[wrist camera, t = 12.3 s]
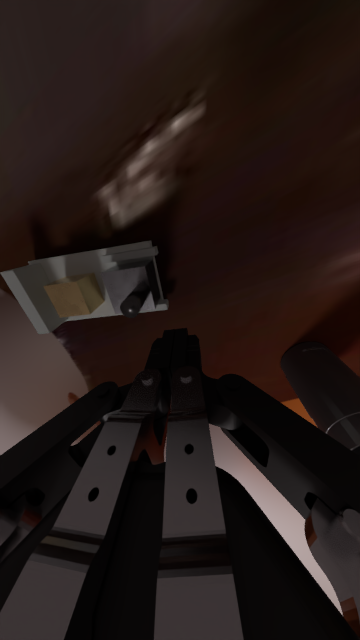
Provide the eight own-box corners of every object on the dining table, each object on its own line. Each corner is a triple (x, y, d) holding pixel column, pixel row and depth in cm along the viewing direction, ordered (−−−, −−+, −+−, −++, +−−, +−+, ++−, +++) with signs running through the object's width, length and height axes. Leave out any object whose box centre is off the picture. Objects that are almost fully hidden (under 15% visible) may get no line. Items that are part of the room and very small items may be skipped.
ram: (152, 259, 27) (130, 279, 17) (160, 296, 29) (145, 332, 20) (114, 265, 27) (73, 288, 18) (126, 300, 30) (95, 337, 21)
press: (157, 239, 27) (148, 243, 21) (170, 305, 32) (165, 322, 26) (35, 260, 30) (-3, 268, 24) (65, 318, 35) (40, 336, 29)
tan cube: (104, 301, 31) (90, 314, 26) (78, 304, 31) (59, 317, 27) (93, 272, 28) (76, 281, 24) (65, 276, 29) (43, 286, 25)
